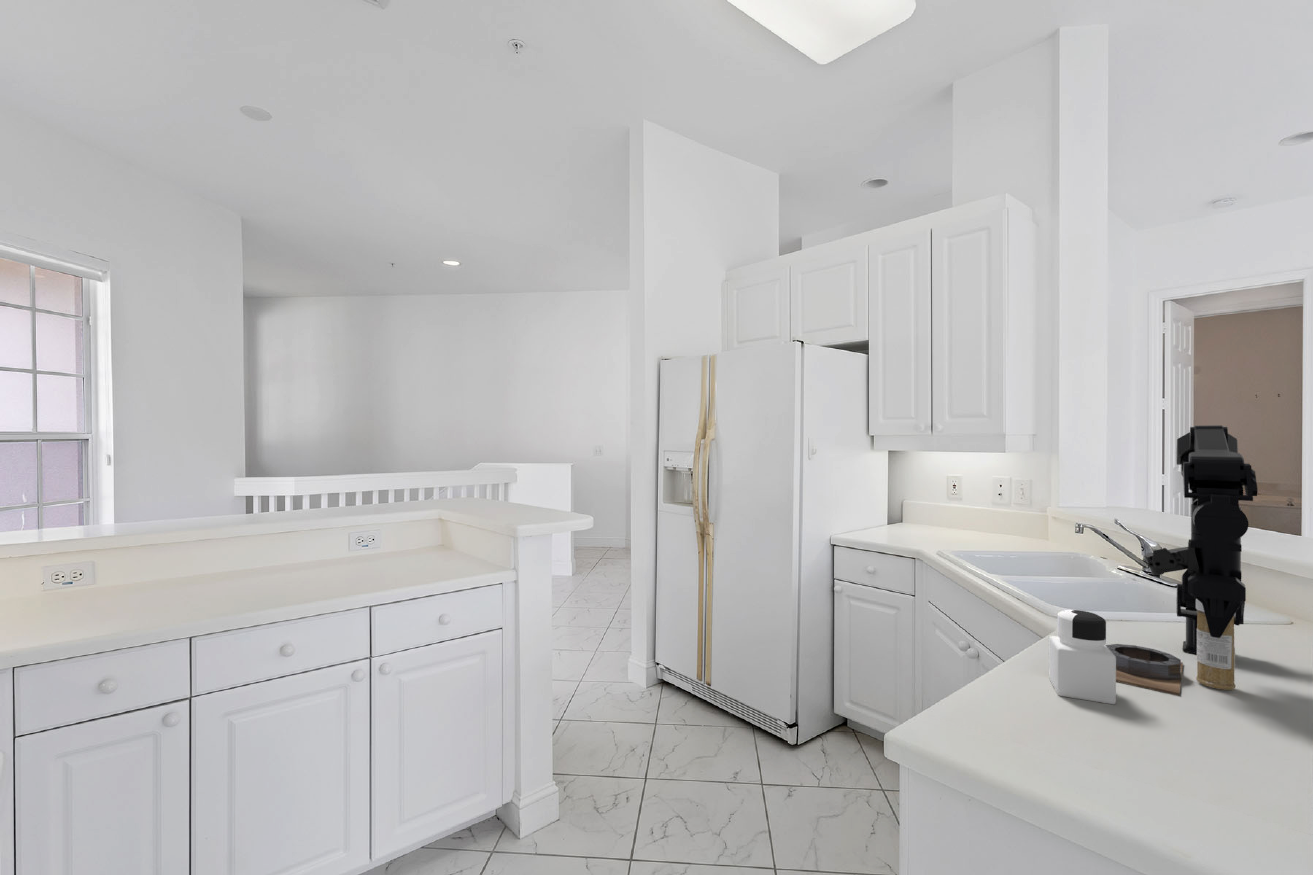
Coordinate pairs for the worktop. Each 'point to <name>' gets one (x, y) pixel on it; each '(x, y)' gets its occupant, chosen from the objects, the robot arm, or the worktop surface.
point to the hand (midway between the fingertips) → (1215, 633)
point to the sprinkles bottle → (1214, 654)
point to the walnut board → (1151, 682)
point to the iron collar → (1146, 662)
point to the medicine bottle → (1082, 658)
